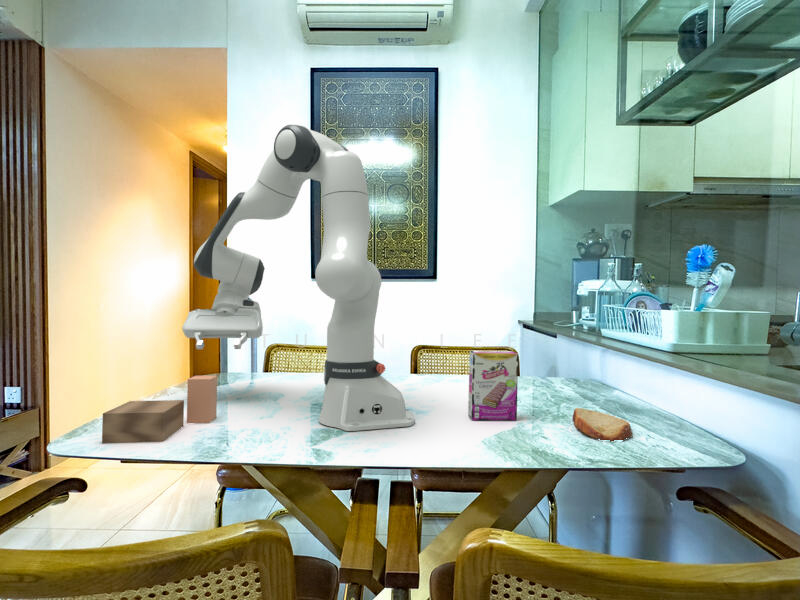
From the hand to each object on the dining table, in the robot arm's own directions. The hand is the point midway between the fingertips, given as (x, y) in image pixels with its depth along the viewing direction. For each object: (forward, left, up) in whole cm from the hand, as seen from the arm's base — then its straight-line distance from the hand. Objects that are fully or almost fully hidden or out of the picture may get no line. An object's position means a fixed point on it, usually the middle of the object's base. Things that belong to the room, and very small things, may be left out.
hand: (218, 347), depth 112 cm
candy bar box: (-69, +16, -16) cm, 72 cm away
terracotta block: (0, +12, -16) cm, 20 cm away
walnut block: (+8, +22, -16) cm, 28 cm away
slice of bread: (-90, +26, -16) cm, 95 cm away
